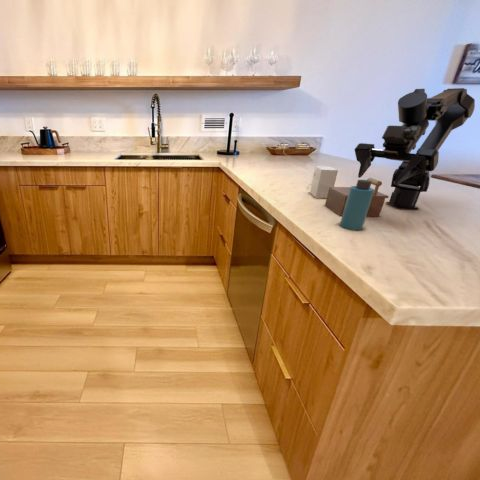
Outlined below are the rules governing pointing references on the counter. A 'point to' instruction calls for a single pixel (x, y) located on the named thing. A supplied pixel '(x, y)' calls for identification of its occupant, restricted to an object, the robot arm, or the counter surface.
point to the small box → (322, 181)
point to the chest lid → (345, 190)
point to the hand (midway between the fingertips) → (376, 179)
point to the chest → (339, 202)
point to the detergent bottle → (357, 205)
